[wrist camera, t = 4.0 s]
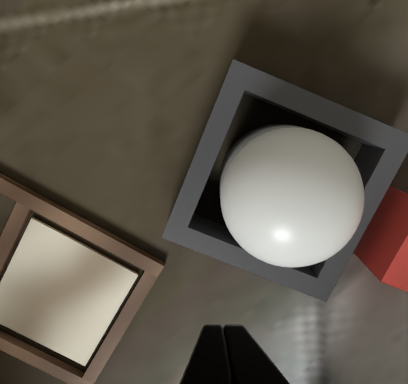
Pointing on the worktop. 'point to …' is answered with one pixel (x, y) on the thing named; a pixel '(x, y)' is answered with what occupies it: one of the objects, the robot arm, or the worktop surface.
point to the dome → (290, 195)
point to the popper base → (366, 162)
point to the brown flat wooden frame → (65, 287)
